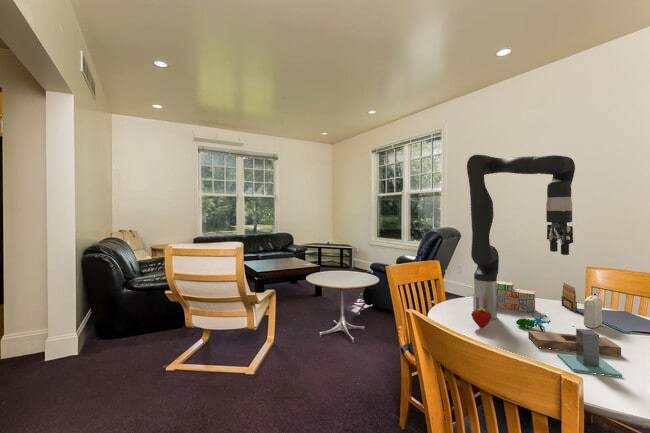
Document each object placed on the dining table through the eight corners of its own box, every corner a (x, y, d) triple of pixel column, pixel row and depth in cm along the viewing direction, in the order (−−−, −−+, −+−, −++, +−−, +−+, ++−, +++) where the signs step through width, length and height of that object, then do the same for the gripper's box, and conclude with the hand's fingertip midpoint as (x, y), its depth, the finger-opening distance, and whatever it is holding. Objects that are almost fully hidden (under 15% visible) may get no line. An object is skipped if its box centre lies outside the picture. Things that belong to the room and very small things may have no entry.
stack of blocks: (535, 310, 143) (535, 285, 143) (534, 313, 138) (534, 288, 138) (486, 302, 157) (486, 279, 156) (484, 305, 152) (484, 281, 152)
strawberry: (469, 324, 125) (469, 301, 125) (489, 326, 123) (489, 303, 123) (473, 330, 119) (473, 306, 119) (493, 331, 117) (493, 307, 117)
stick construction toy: (550, 322, 120) (547, 311, 117) (556, 337, 115) (553, 326, 112) (517, 326, 126) (513, 314, 123) (522, 340, 120) (518, 329, 117)
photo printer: (590, 320, 128) (590, 293, 128) (603, 324, 124) (603, 295, 124) (582, 326, 122) (582, 297, 122) (595, 329, 118) (595, 299, 118)
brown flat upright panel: (561, 305, 149) (561, 282, 149) (565, 305, 149) (565, 282, 149) (572, 312, 139) (572, 287, 139) (577, 312, 138) (577, 287, 138)
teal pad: (572, 371, 88) (572, 368, 88) (557, 355, 97) (557, 353, 97) (622, 377, 84) (622, 374, 84) (600, 360, 94) (600, 358, 94)
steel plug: (583, 365, 90) (583, 333, 89) (576, 359, 93) (576, 328, 93) (599, 367, 88) (599, 334, 88) (591, 360, 92) (591, 329, 92)
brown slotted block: (537, 347, 103) (537, 339, 103) (528, 338, 111) (528, 330, 111) (621, 356, 96) (621, 347, 96) (605, 345, 104) (605, 337, 104)
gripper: (539, 209, 115) (539, 250, 116) (556, 209, 102) (556, 255, 102) (561, 209, 113) (561, 250, 113) (582, 209, 100) (582, 256, 100)
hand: (559, 253), depth 108 cm, fingers open, 8 cm apart
